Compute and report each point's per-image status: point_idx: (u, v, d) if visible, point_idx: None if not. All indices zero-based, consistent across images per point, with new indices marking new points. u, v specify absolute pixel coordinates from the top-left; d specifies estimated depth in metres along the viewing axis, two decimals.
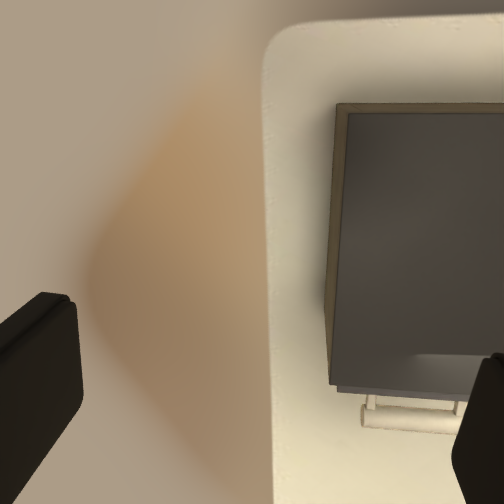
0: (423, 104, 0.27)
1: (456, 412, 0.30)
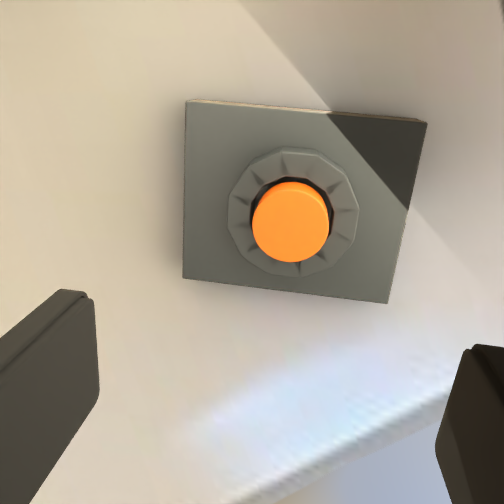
0: None
1: None
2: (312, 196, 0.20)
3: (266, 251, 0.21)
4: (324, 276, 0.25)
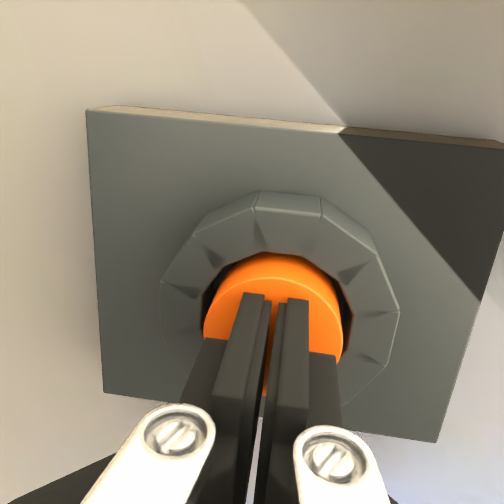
0: None
1: None
2: (312, 289, 0.11)
3: None
4: None
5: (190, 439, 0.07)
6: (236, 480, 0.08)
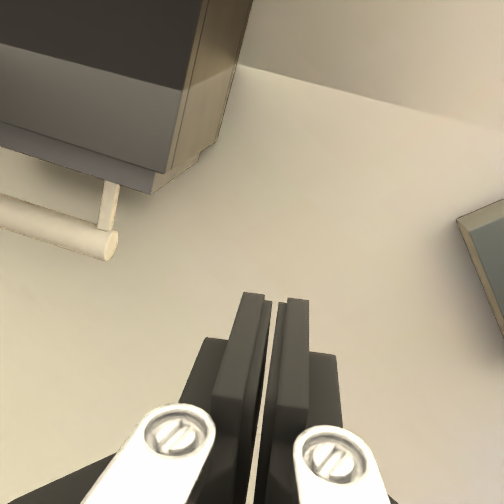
0: None
1: (98, 222, 0.21)
2: None
3: None
4: None
5: (190, 439, 0.07)
6: (236, 480, 0.08)
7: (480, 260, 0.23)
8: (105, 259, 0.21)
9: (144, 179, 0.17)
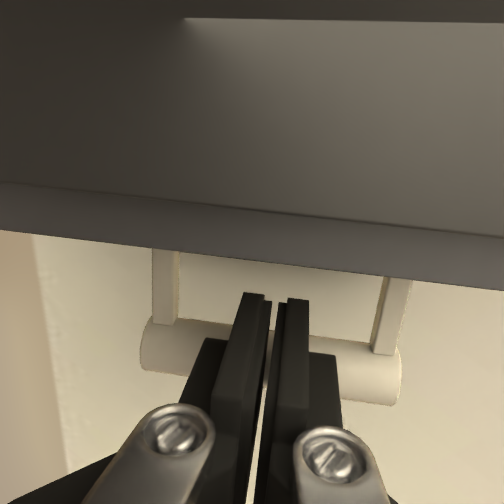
0: None
1: (375, 343, 0.11)
2: None
3: None
4: None
5: (190, 439, 0.07)
6: (236, 480, 0.08)
7: None
8: None
9: None
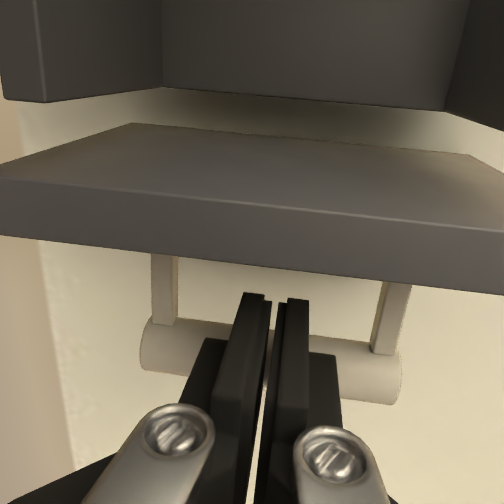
0: None
1: (375, 343, 0.11)
2: None
3: None
4: None
5: (190, 439, 0.07)
6: (236, 480, 0.08)
7: None
8: None
9: None
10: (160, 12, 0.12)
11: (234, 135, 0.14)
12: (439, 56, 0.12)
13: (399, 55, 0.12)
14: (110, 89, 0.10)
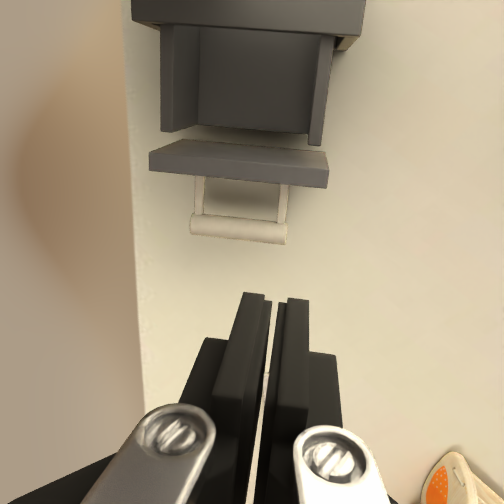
0: None
1: (277, 219, 0.31)
2: None
3: None
4: None
5: (190, 439, 0.07)
6: (236, 480, 0.08)
7: None
8: (285, 243, 0.31)
9: (322, 179, 0.27)
10: (197, 96, 0.32)
11: (226, 144, 0.34)
12: (304, 114, 0.32)
13: (289, 113, 0.32)
14: (184, 127, 0.29)
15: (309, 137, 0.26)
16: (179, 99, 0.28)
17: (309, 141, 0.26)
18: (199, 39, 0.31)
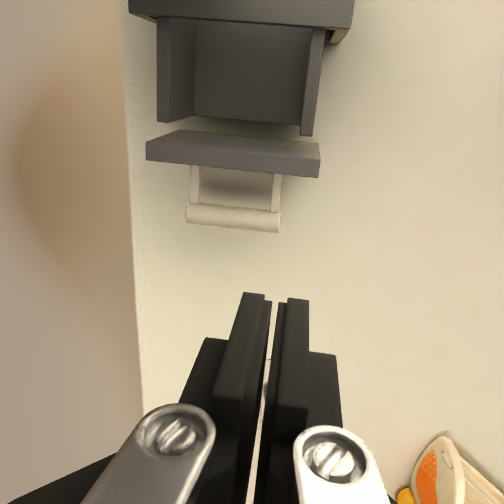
0: None
1: (270, 208, 0.32)
2: None
3: None
4: None
5: (190, 439, 0.07)
6: (236, 480, 0.08)
7: None
8: (278, 231, 0.32)
9: (313, 169, 0.28)
10: (193, 88, 0.33)
11: (222, 134, 0.34)
12: (297, 105, 0.33)
13: (283, 104, 0.33)
14: (180, 118, 0.30)
15: (301, 128, 0.27)
16: (175, 90, 0.28)
17: (301, 132, 0.27)
18: (195, 31, 0.31)
